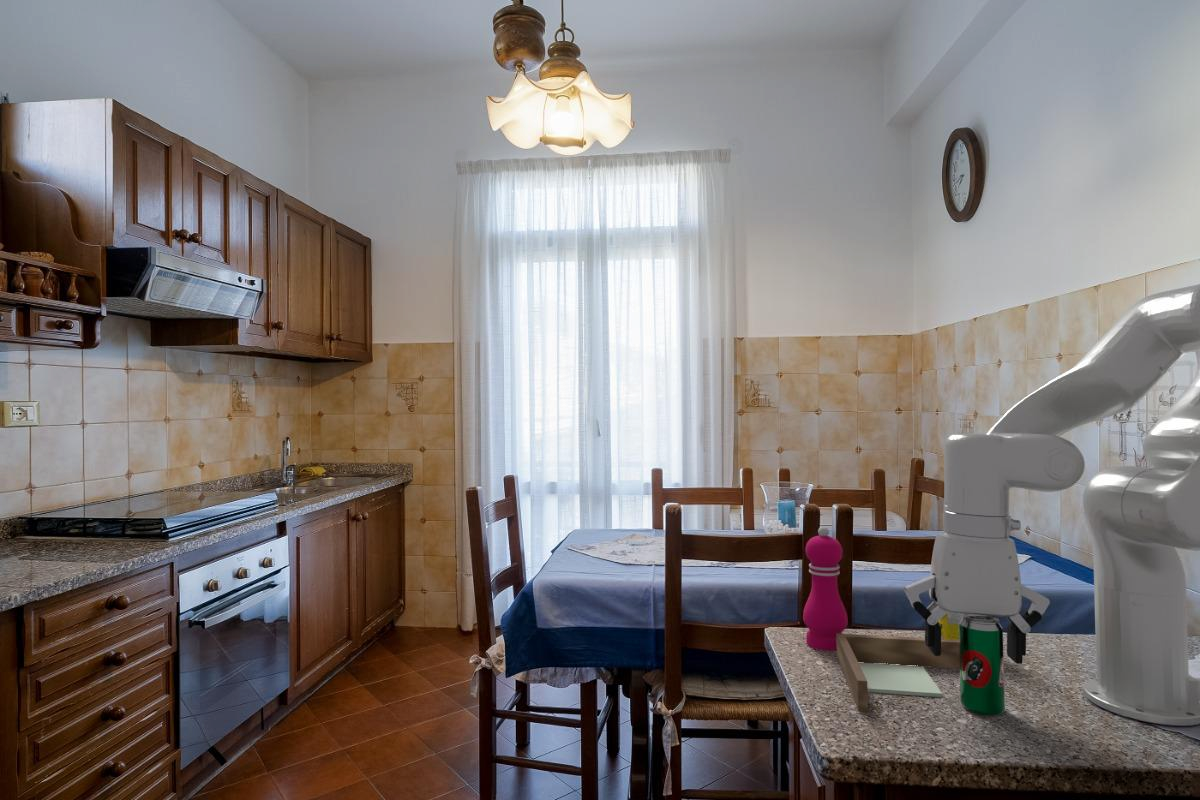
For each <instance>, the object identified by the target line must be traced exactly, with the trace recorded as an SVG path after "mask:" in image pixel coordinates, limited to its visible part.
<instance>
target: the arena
mask: <svg viewBox="0 0 1200 800" xmlns="http://www.w3.org/2000/svg"><path fill="white" fill-rule="evenodd" d="M836 642H837V651H836V660H837V663H838V662H839V663H838V665H839V667H841V668H840V670H841V673H842V675H843V674H844V675H843V677H844V679H846V680H845V683H846V684H848V685H847V687H848V690H849V689H850V690H849V692H850V694H852V695H851V697H852V699H853V702H854V704H855V706H856V710H857V711H858V712H863V713H865V712H866V713H868V712H869V702H868V700H869V698H868V696H869V695H868V693H869V692H868V690H867V680H866V677H865V675H864V673H863V671H862V669H861V667H860V665H859V663H858V662H864V663H886V664H887V663H888V664H900V665H916V666H917V665H918V666H931V667H930V668H938V667H940V668H941V669H954V668H955V669H956V670H958V669H959V670H960V658H959V640H950V639H941V655H940V656H934V654H933V653H932V652H931V651H930V650H929V647H927V646H926V644H925V637H914V636H913V637H910V636H906V637H905V636H895V635H893V636H889V635H873V634H857V633H856V634H855V633H853V634H851V633H842V634H839V633H836ZM955 669H954V670H955Z"/></svg>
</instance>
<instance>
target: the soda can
mask: <svg viewBox="0 0 1200 800" xmlns="http://www.w3.org/2000/svg"><path fill="white" fill-rule="evenodd" d="M1003 629H1004V628H1003V627H1002V625H1001V624H1000V619H999V618H998V617H997V616H987V615H975V614H963V615H962V619H961V620H960V622H959V658H960V669H959V684H960V685H959V688H960V690H959V691H960V692H959V693H960V694H959V695H960V696H959V697H960V703H961V704H962V706H963V707H964V708H965V709H966V710H967V711H969V712H971V713H974V714H976V715H980V716H985V717H996V716H1000V715H1001V714H1003V713H1004V712H1005V709H1006V703H1005V701H1006V700H1005V699H1006V698H1005V697H1006V696H1005V695H1006V694H1005V663H1004V662H1005V661H1004V659H1005V658H1004V631H1003Z"/></svg>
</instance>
